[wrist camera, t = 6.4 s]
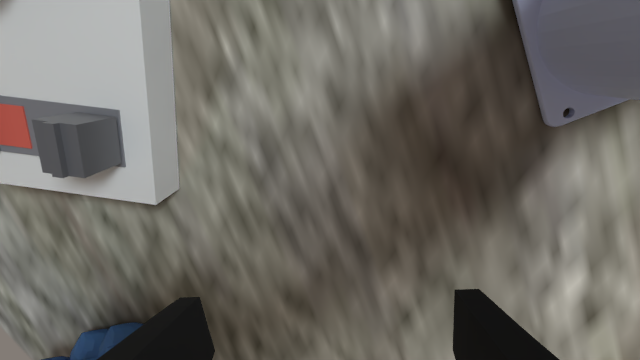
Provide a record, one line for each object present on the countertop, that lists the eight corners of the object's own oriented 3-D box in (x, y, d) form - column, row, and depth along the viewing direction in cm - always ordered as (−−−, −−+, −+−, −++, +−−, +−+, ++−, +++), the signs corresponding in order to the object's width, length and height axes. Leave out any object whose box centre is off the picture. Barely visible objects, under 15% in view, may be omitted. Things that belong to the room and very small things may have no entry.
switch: (77, 112, 16) (24, 120, 13) (116, 116, 16) (69, 126, 13) (84, 158, 17) (36, 174, 14) (121, 163, 16) (79, 180, 14)
